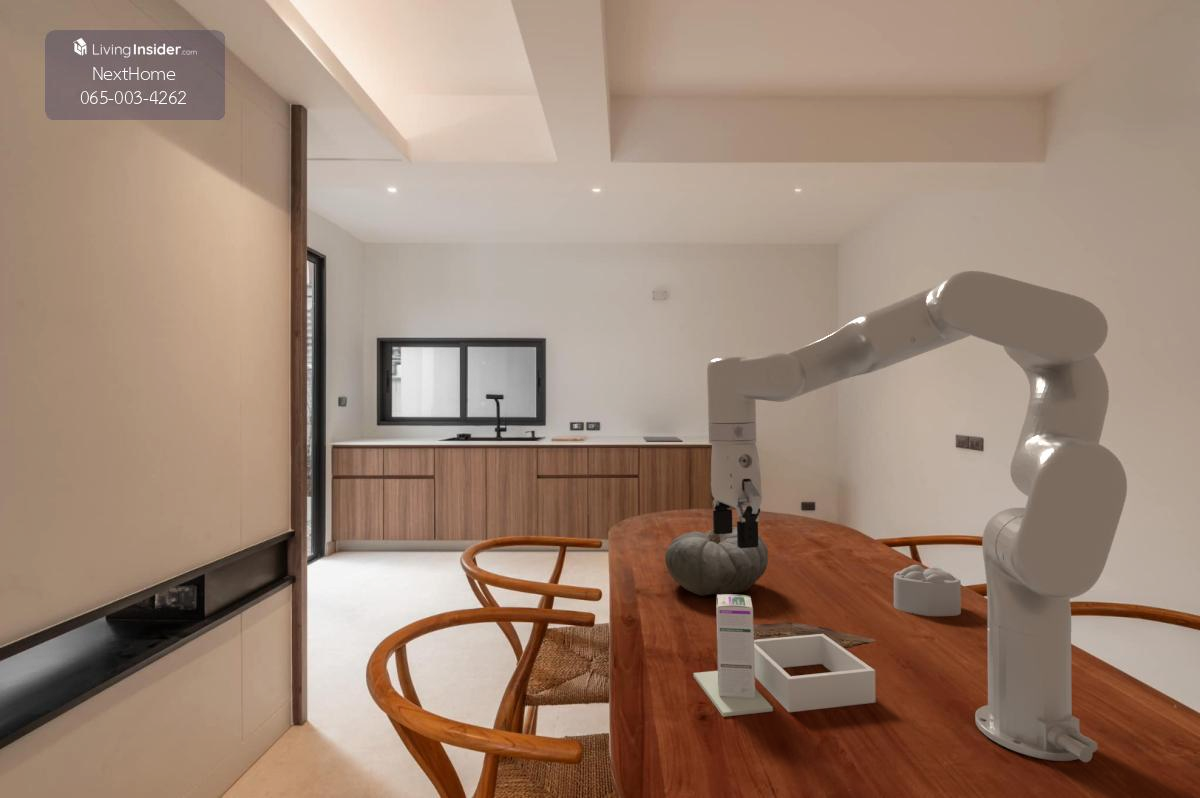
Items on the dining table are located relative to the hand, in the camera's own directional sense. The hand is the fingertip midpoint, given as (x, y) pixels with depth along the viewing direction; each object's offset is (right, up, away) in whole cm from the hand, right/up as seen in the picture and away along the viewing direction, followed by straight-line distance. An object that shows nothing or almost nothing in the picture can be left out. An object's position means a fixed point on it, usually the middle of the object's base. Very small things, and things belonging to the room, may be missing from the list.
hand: (734, 540), depth 95 cm
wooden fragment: (+20, -25, +23) cm, 39 cm away
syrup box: (0, -24, 0) cm, 24 cm away
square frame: (+13, -25, +3) cm, 28 cm away
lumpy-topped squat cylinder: (+51, -25, +38) cm, 68 cm away
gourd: (+7, -25, +52) cm, 58 cm away
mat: (-1, -25, 0) cm, 25 cm away
